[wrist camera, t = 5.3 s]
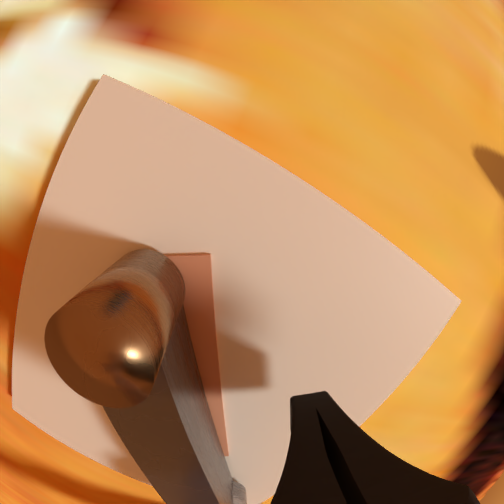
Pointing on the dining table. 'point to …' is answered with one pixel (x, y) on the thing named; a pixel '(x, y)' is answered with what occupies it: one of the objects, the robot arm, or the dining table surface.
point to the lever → (144, 375)
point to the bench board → (219, 282)
